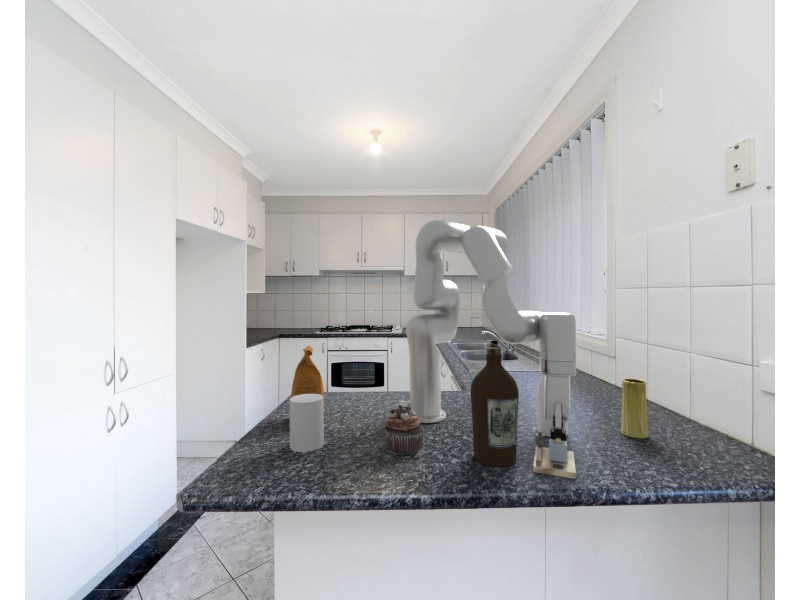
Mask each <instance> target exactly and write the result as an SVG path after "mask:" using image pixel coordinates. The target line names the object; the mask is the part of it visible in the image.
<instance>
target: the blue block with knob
mask: <svg viewBox="0 0 800 600" xmlns="http://www.w3.org/2000/svg"><path fill="white" fill-rule="evenodd" d="M548 448H549V460H551V461H558V462H564V463H568V451H569V450H568V441H567V440H566V441H562V440H561V439H560V438H556V440H554V439H550V438H549V439H548Z"/></svg>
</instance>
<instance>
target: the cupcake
mask: <svg viewBox="0 0 800 600" xmlns="http://www.w3.org/2000/svg"><path fill="white" fill-rule="evenodd" d="M387 415H388V416H387V419H386V420H385V426H384V431H385V435H386V440H387V444H388V450H389V449H390V450H391V451H392V452H394V453H397V454H396V455H398V454H411V455H414V454H413V453H415V454H417V452H418V453H419V452H420V451H422V444H423V438H424V435H425V434H424V433H425V427H424V426H423V425H422V423H420V418H419V417H418V416H416V413H415V412H414V411H412V410H411V408H410V407H405V408H404V407H402V406H401V405H399V404H398V405H397V408H395V409H390V410H389V412H388V414H387ZM390 450H389V451H390ZM391 451H390V452H391ZM392 452H391V453H392ZM394 453H393V454H394Z"/></svg>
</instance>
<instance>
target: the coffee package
mask: <svg viewBox="0 0 800 600" xmlns="http://www.w3.org/2000/svg"><path fill="white" fill-rule="evenodd" d="M313 351H314V349H313V347H312V346H311V345H308V346H307V347H305V348H303V353H304V354H303V357H302V358H301V360H300V361H299V362H298V364H297V365H296V368H295V370H294V377H293V379H292V380H293V381H292V384H291V392H290V393H291V394H290V398H291V397H293V396H296V395H301V394H320V395H322V396H323V408H324V409H325V389H324V384H323V383H324V382H323V379H322V375H321V373H320V371H319V369H318V367H317V365H316V364H315V363H314V362H313V360H312V358H311V356H313Z"/></svg>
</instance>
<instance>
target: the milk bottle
mask: <svg viewBox="0 0 800 600" xmlns="http://www.w3.org/2000/svg"><path fill="white" fill-rule="evenodd" d="M544 379H545V375H543V374H541V375H540V379H539V381H538V383H537V388H536V430H537V433H538V432H539V431H540V432H542V434H544V437H549V438H550V429H552V421H551V419H550V420H549V419H548V421H546V420H545V418H544ZM565 431H566V437H567V436H568V434H569V421H568V422H565Z"/></svg>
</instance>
